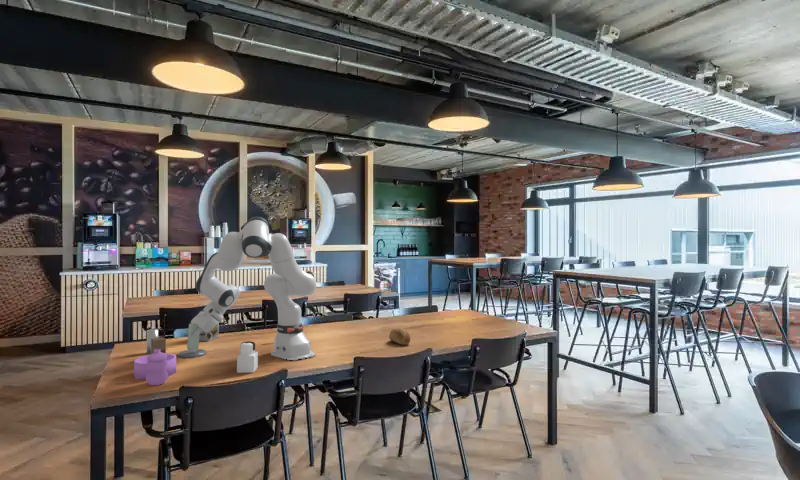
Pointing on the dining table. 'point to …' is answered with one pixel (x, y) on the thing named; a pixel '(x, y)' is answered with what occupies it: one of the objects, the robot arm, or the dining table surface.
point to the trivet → (192, 353)
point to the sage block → (193, 341)
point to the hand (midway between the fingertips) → (191, 335)
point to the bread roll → (399, 336)
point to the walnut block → (158, 344)
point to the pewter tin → (150, 335)
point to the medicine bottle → (247, 358)
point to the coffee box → (209, 333)
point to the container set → (155, 367)
